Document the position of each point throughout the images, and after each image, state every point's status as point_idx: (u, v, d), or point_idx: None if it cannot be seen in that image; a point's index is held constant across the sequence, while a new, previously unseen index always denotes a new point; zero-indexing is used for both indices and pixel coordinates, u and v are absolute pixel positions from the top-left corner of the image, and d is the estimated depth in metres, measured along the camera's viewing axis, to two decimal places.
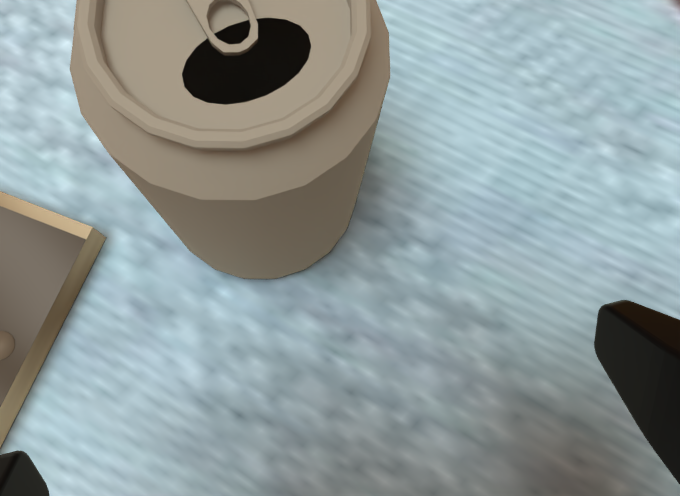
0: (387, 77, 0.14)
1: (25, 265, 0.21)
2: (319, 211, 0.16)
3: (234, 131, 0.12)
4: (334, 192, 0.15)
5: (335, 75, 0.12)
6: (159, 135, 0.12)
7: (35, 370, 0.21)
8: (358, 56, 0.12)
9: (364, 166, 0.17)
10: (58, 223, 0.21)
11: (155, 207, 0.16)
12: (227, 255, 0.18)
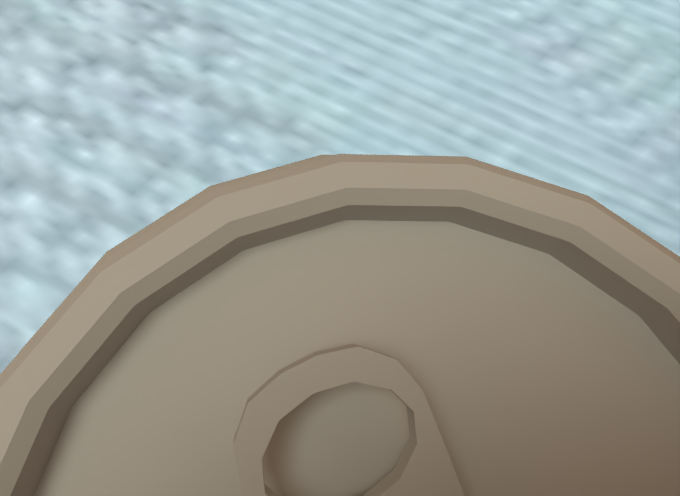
0: None
1: None
2: None
3: None
4: None
5: None
6: None
7: None
8: None
9: None
10: None
11: None
12: None
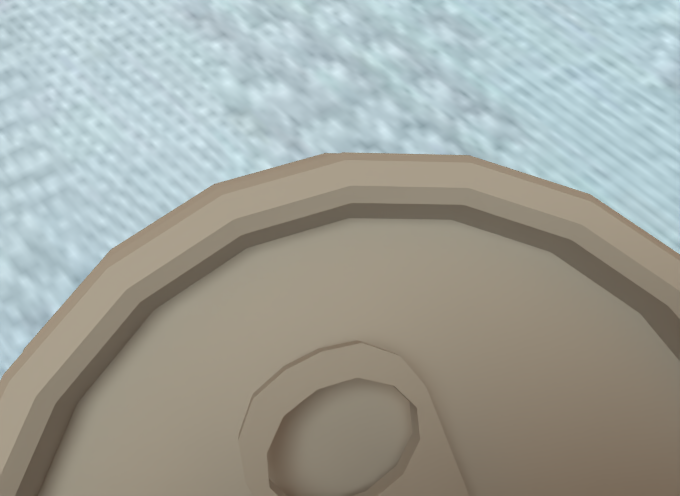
0: None
1: None
2: None
3: None
4: None
5: None
6: None
7: None
8: None
9: None
10: None
11: None
12: None
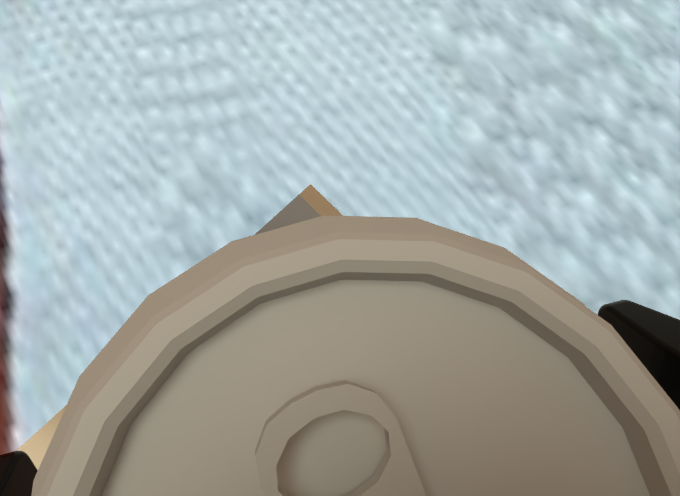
0: None
1: None
2: None
3: None
4: None
5: None
6: None
7: None
8: None
9: None
10: None
11: None
12: None
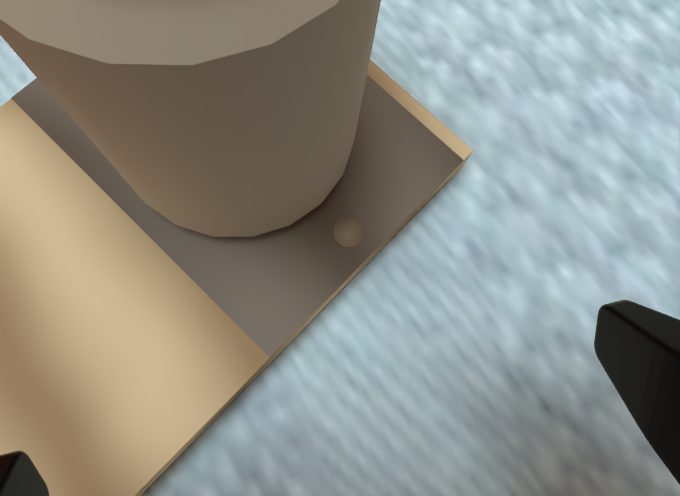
0: None
1: (396, 162, 0.19)
2: (300, 117, 0.11)
3: None
4: (320, 83, 0.11)
5: None
6: None
7: (357, 272, 0.19)
8: None
9: (363, 68, 0.13)
10: (440, 133, 0.19)
11: (74, 117, 0.12)
12: (181, 194, 0.14)
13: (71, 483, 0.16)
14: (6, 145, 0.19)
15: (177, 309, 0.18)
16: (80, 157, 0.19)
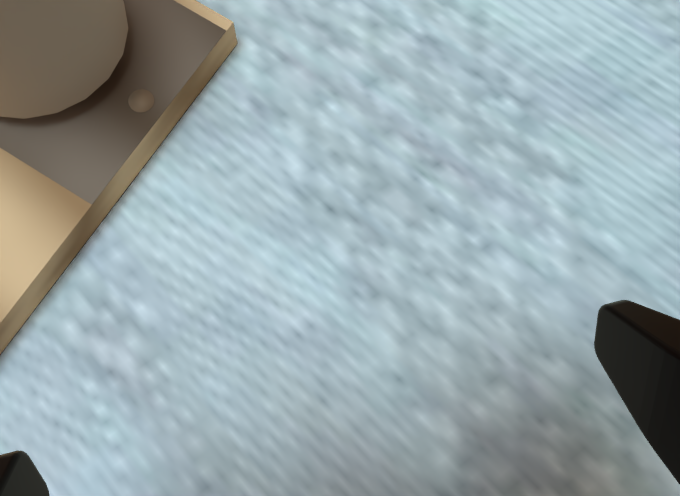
0: None
1: (172, 42, 0.24)
2: None
3: None
4: None
5: None
6: None
7: (162, 136, 0.24)
8: None
9: None
10: (204, 13, 0.24)
11: None
12: None
13: None
14: None
15: (11, 184, 0.22)
16: None
